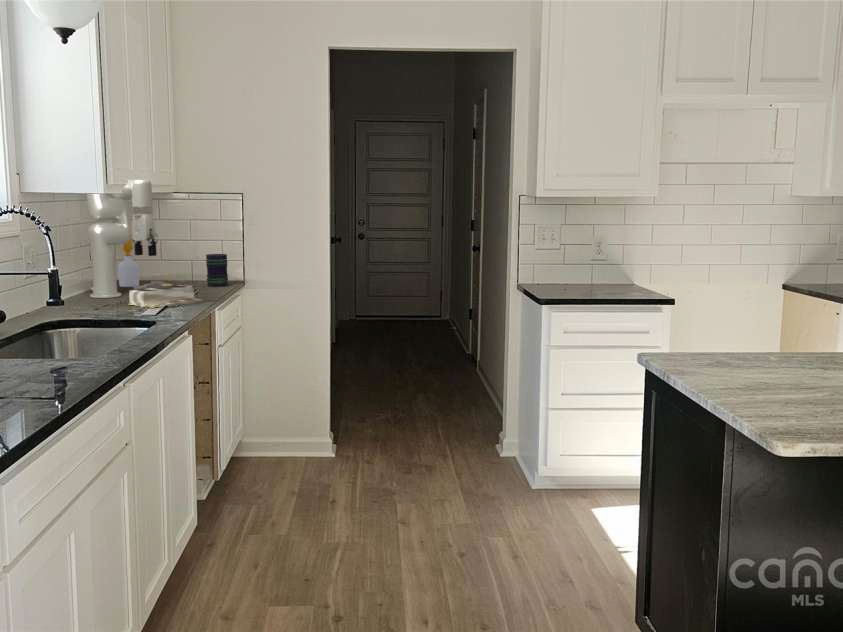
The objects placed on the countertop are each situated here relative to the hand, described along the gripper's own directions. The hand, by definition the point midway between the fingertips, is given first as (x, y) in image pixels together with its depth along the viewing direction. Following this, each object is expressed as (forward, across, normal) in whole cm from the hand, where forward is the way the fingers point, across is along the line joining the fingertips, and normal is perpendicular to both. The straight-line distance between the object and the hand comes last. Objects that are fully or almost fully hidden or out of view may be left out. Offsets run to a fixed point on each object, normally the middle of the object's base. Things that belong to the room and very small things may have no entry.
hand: (145, 255), depth 337 cm
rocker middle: (+12, -4, +9) cm, 16 cm away
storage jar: (+19, -38, +60) cm, 74 cm away
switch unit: (+20, -2, +9) cm, 22 cm away
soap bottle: (+19, -69, +32) cm, 79 cm away
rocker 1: (+13, -4, +1) cm, 13 cm away
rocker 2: (+12, -5, +17) cm, 22 cm away
